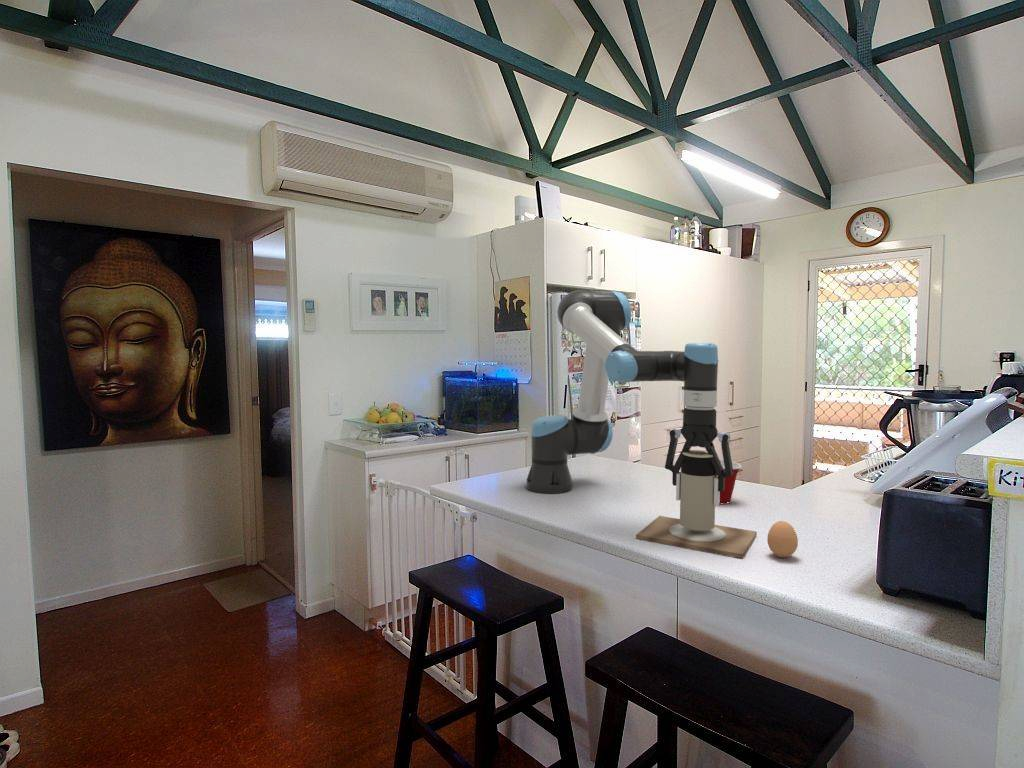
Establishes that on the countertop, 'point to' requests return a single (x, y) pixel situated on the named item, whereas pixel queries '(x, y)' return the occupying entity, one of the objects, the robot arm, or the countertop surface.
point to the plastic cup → (729, 483)
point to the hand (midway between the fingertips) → (697, 501)
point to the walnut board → (699, 537)
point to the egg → (782, 539)
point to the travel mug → (697, 491)
